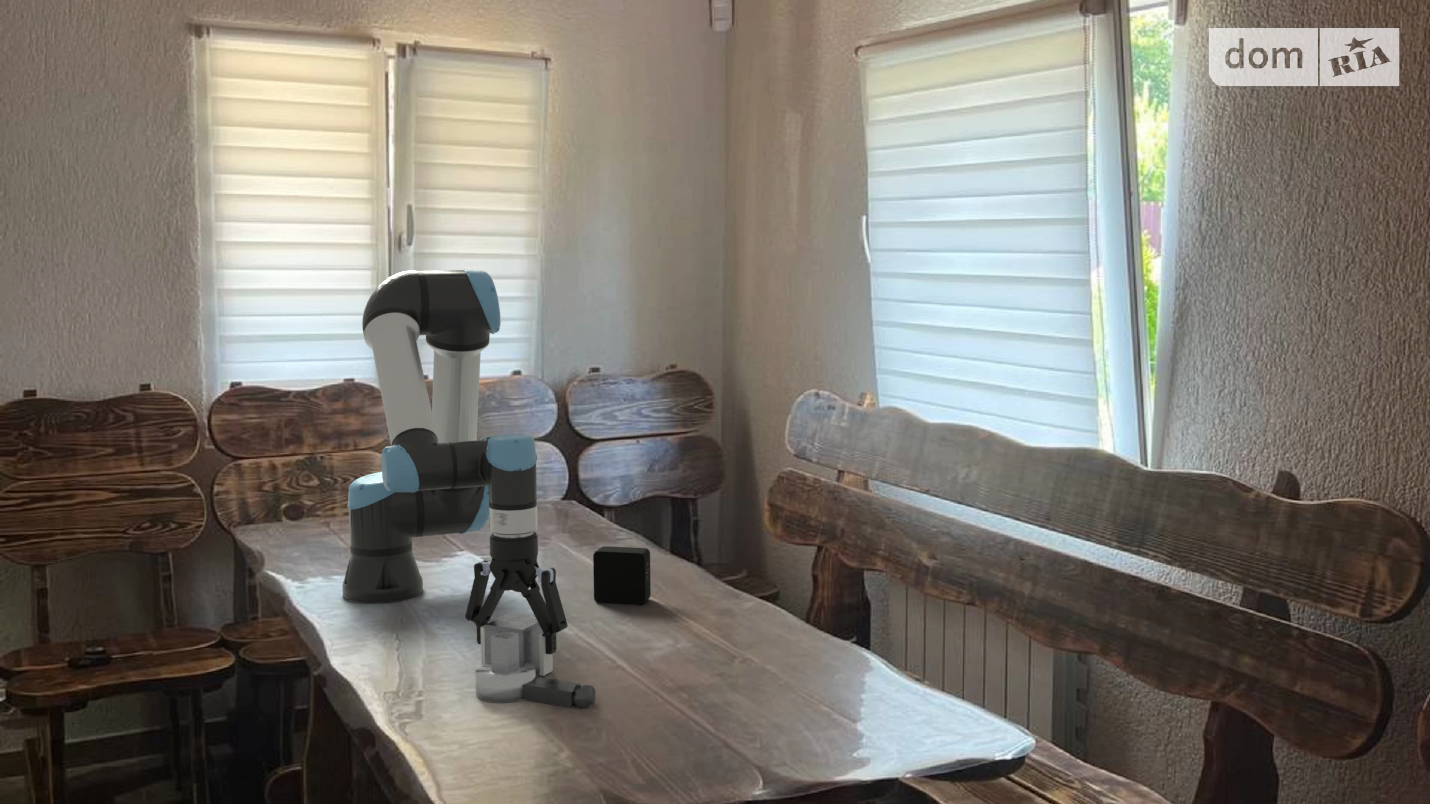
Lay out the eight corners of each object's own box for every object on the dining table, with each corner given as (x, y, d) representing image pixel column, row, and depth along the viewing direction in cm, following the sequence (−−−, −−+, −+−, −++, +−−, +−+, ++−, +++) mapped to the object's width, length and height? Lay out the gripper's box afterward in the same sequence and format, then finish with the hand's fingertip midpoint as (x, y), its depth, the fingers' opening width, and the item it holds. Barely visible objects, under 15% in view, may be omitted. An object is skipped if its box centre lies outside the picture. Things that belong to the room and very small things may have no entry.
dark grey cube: (486, 673, 207) (485, 624, 206) (510, 660, 214) (509, 612, 213) (524, 679, 204) (523, 629, 203) (547, 665, 211) (546, 617, 210)
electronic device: (645, 605, 244) (644, 553, 243) (593, 602, 246) (592, 551, 245) (650, 599, 248) (650, 548, 247) (600, 596, 250) (599, 545, 249)
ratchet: (464, 701, 197) (462, 639, 195) (497, 682, 205) (495, 623, 203) (574, 719, 189) (573, 655, 188) (604, 699, 197) (603, 637, 196)
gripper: (439, 531, 207) (443, 666, 210) (564, 544, 198) (567, 685, 201) (466, 521, 214) (470, 652, 217) (588, 533, 205) (590, 670, 208)
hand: (516, 668), depth 209 cm, fingers open, 10 cm apart
